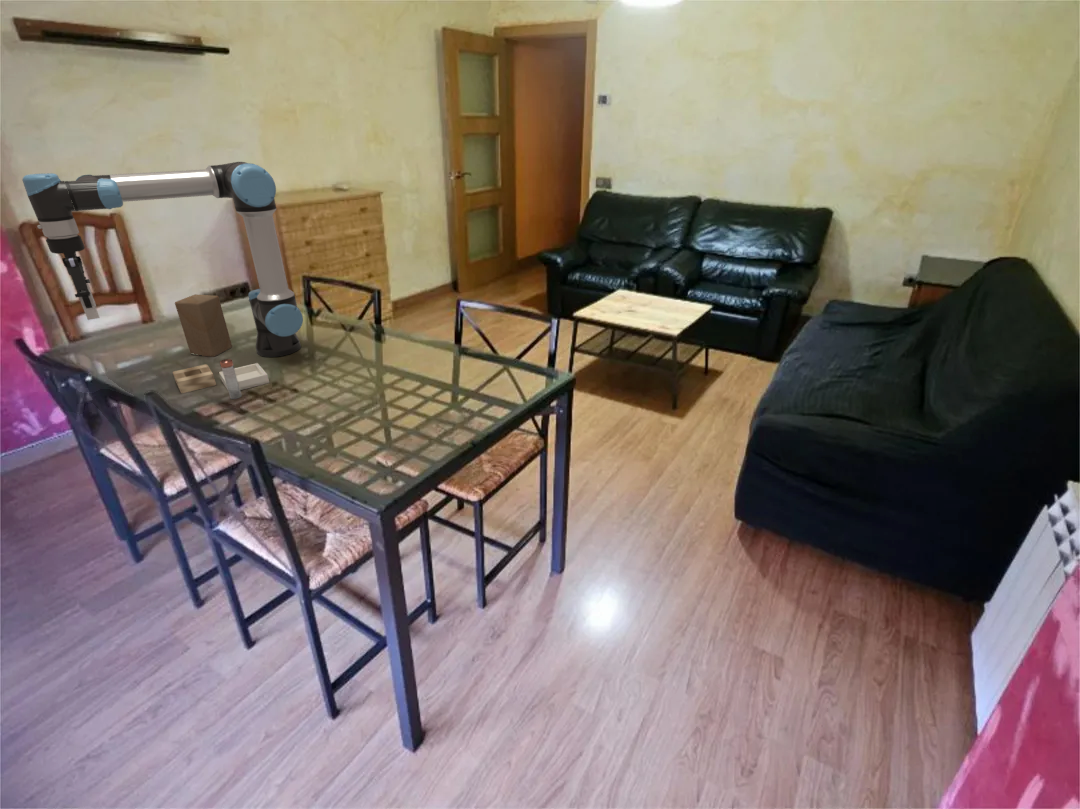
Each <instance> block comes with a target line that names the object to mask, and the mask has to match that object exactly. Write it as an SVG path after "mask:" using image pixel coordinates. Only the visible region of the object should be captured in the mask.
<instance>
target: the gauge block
mask: <svg viewBox="0 0 1080 809" xmlns="http://www.w3.org/2000/svg"><path fill="white" fill-rule="evenodd" d="M172 374H173V377H174V380H175V381H174V382H175V383H176V385H177V387H178V390H179V392H180V394H185V393H186V394H187V393H190V392H193V391H198V390H202V389H205V388H206V389H207V388H210V387H214V386H217V382H216V379H215V376H214V373H213V372H212V370H211V369H210V367H209V365H208V364H207V363H206V364H200V365H197V366H192V367H188V368H182V369H179V370H178V369H177V370H174V371H172Z"/></svg>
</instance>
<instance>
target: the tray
mask: <svg viewBox="0 0 1080 809" xmlns="http://www.w3.org/2000/svg"><path fill="white" fill-rule="evenodd" d="M234 370H235V373H236V377H237V380H238V384H239V388H240V391H242V390H246V389H251V388H255V387H258V386H263V385H267V384H270V380H269V374H268V373H267V372H266V371H265V370H264V369H263V367H262V366H260V364H259V363H258V362H256V363H253V364H252V363H250V364H247V365H243V366H239V367H234ZM218 374H219V378H220V381H221V383H222V384H223V386H224V387H225V388H226V391H228V388H227V385H226V381H225V378H224V374H223V371H222V370H221V371H219V372H218Z"/></svg>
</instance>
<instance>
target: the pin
mask: <svg viewBox="0 0 1080 809" xmlns="http://www.w3.org/2000/svg"><path fill="white" fill-rule="evenodd" d="M219 364H220V367H221V369H222V370H221V371H223V374H224V378H225V381H226V385H227V388H228V390H227V391H228V395H229V398H230V400H237V399H239V398H241V397H242V396H243V394H242V392H241V391H242V390H240V388H239V384H238V380H237V377H236V373H235V370H234V368H235V367H234V361H233V359H230V358H226V359H225V358H224V359H222V360H220V361H219ZM227 388H226V389H227Z"/></svg>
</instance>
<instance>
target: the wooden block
mask: <svg viewBox="0 0 1080 809" xmlns="http://www.w3.org/2000/svg"><path fill="white" fill-rule="evenodd" d="M174 305H175V308H176V311H177V316H178V319H179V321H180V324H181V328H182V331H183V333H184V337H185V340H186V343H187V347H188V350H189V353H190V354H191V353H194V354H198V355H197V356H199V355H202V356H201V357H213V358H215V357H217V356H219V355H220V354H222V353H224V352H226V351H228V350H229V349H231V348H232V347H233V344H232V340H231V336H230V334H229V330H228V325H227V321H226V319H225V314H224V311H223V308H222V307H223V306H222V305H221V300H220V297H219V296H218V295H209V294H208V295H207V294H191V295H189V296H187V297H185V298H182V299H180V300H177V301H175V302H174Z"/></svg>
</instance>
